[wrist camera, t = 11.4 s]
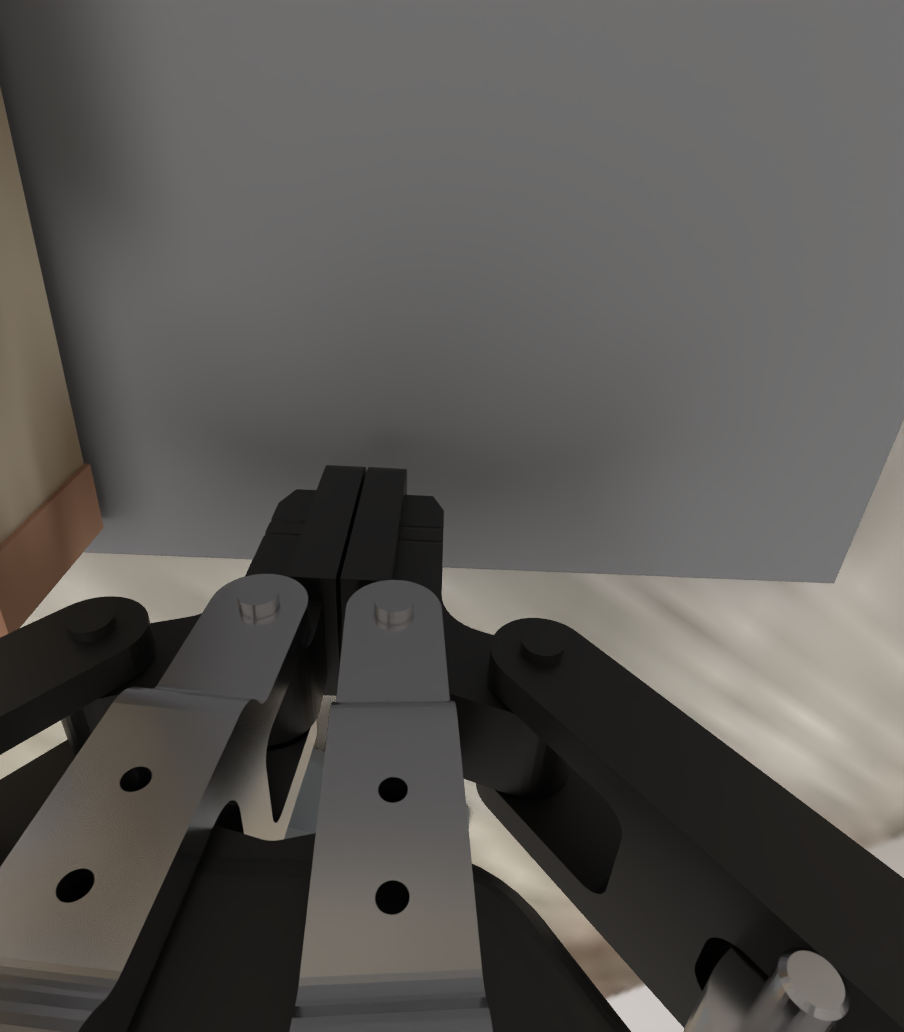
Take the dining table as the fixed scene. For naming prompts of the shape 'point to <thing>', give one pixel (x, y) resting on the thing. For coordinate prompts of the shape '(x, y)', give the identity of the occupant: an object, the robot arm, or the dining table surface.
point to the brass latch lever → (34, 423)
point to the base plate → (476, 267)
